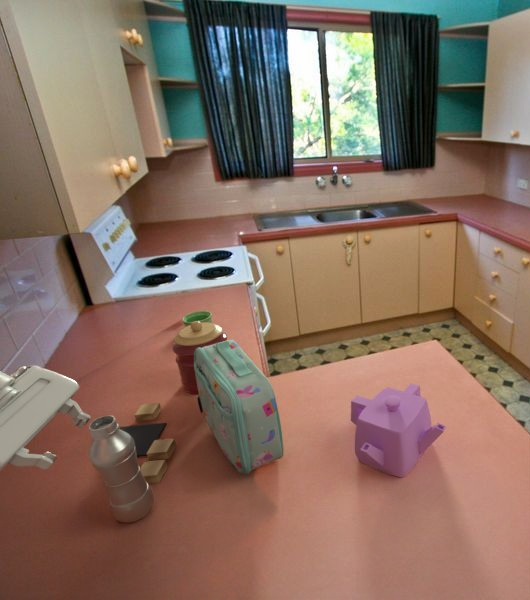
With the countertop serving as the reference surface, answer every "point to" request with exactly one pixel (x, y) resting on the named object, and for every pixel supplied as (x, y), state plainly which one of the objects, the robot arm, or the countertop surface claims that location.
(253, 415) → the lunch box
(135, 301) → the countertop surface
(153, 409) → the back tile
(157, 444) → the tile
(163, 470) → the front tile
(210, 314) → the ramekin
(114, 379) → the countertop surface
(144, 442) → the mat
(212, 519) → the countertop surface
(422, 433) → the teakettle
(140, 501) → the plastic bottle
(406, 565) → the countertop surface
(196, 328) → the kitchen canister
